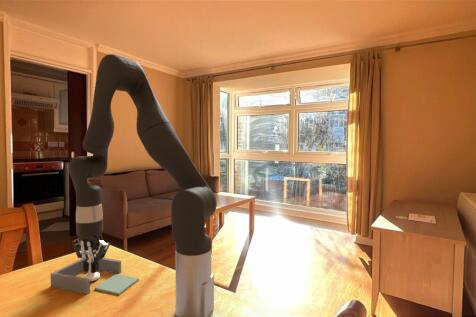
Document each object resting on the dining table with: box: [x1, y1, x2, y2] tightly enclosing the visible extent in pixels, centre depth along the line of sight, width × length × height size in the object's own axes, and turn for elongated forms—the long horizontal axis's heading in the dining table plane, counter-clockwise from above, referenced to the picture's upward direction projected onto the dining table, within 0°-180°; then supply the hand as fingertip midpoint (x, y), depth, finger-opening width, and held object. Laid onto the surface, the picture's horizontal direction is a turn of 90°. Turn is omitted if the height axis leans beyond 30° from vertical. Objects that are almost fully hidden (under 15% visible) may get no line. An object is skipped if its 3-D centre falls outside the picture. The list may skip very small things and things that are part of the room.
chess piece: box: [82, 253, 101, 282], centre depth 88 cm, size 5×5×10 cm
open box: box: [50, 256, 122, 295], centre depth 89 cm, size 14×14×4 cm
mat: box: [94, 273, 140, 296], centre depth 85 cm, size 9×9×1 cm
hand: (91, 271), depth 88 cm, fingers closed on chess piece
